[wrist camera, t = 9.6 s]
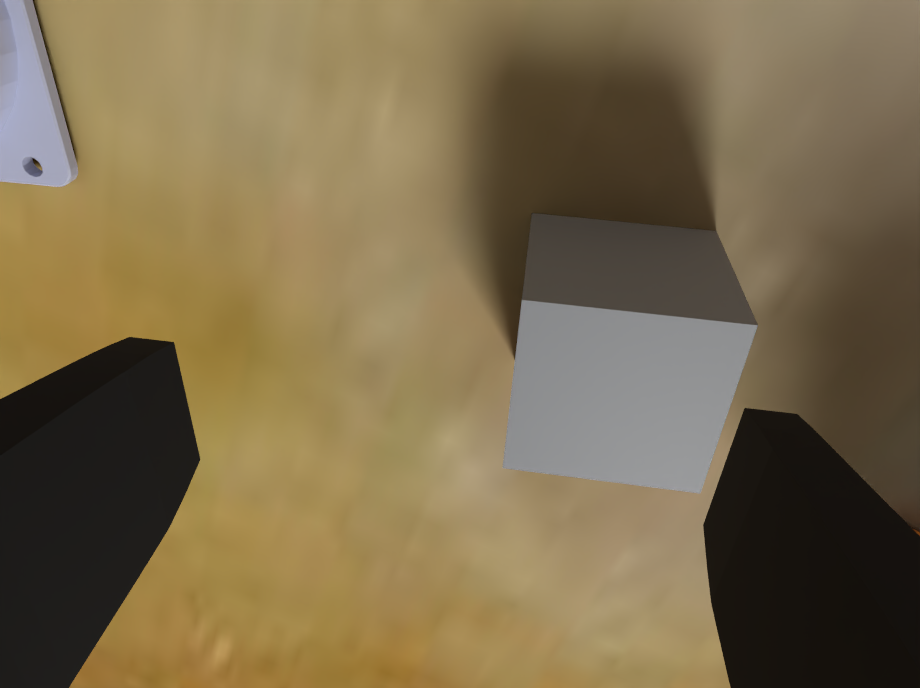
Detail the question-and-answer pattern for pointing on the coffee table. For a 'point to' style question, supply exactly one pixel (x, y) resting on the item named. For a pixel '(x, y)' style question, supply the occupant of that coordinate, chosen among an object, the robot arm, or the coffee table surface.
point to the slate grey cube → (625, 352)
